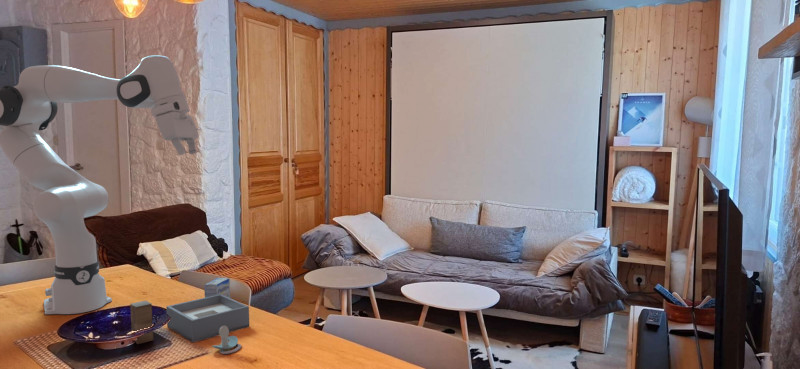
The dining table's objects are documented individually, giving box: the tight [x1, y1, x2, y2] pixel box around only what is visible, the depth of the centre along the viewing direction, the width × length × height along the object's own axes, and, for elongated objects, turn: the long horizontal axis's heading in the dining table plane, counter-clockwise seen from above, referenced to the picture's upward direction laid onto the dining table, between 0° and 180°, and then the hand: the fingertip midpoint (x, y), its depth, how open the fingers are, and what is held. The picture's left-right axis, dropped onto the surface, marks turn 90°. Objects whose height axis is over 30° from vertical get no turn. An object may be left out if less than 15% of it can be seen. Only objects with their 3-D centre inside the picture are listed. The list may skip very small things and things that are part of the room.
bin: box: [166, 294, 250, 343], centre depth 157 cm, size 17×17×6 cm
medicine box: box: [203, 277, 231, 298], centre depth 174 cm, size 8×4×9 cm, turn 168°
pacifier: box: [211, 326, 242, 355], centre depth 141 cm, size 7×6×6 cm
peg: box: [130, 300, 154, 345], centre depth 147 cm, size 4×4×10 cm
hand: (188, 154), depth 163 cm, fingers open, 8 cm apart
